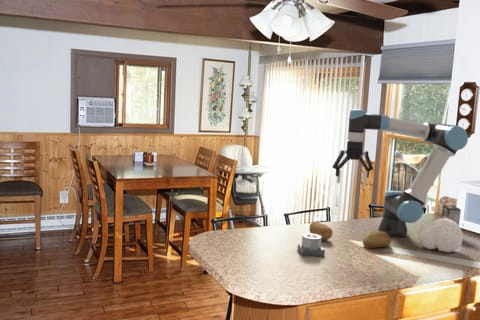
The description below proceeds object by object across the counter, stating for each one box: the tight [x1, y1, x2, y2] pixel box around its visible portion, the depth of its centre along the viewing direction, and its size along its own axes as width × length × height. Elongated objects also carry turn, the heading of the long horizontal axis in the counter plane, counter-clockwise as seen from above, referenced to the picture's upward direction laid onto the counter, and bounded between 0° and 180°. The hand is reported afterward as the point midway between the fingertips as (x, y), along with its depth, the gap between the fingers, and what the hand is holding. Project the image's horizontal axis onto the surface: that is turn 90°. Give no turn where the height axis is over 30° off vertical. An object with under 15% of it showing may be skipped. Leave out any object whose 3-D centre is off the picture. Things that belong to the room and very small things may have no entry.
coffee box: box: [441, 204, 462, 226], centre depth 255 cm, size 9×6×16 cm
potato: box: [309, 221, 334, 241], centre depth 237 cm, size 10×14×8 cm
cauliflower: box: [417, 217, 464, 253], centre depth 229 cm, size 20×18×16 cm
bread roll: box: [362, 230, 392, 249], centre depth 230 cm, size 10×15×8 cm, turn 113°
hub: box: [301, 233, 323, 250], centre depth 214 cm, size 8×8×5 cm
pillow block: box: [297, 235, 326, 258], centre depth 215 cm, size 10×9×8 cm
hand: (351, 183), depth 236 cm, fingers open, 13 cm apart
